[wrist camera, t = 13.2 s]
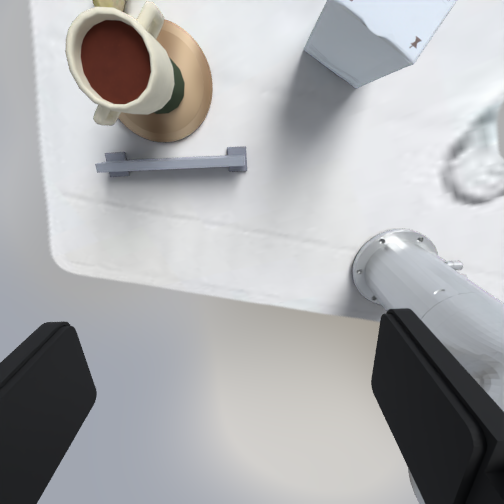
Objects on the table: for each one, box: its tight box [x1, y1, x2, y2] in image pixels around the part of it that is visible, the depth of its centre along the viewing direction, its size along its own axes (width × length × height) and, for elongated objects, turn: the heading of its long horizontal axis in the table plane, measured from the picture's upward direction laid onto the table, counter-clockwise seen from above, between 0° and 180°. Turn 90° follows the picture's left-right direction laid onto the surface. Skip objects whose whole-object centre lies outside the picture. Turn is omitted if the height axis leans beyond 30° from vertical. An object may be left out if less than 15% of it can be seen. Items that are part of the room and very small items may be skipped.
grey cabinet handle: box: [95, 147, 247, 177], centre depth 37 cm, size 18×3×4 cm, turn 93°
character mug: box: [65, 1, 185, 126], centre depth 29 cm, size 11×7×13 cm, turn 145°
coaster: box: [118, 19, 213, 142], centre depth 35 cm, size 13×13×1 cm
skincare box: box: [304, 0, 457, 88], centre depth 27 cm, size 8×6×15 cm
